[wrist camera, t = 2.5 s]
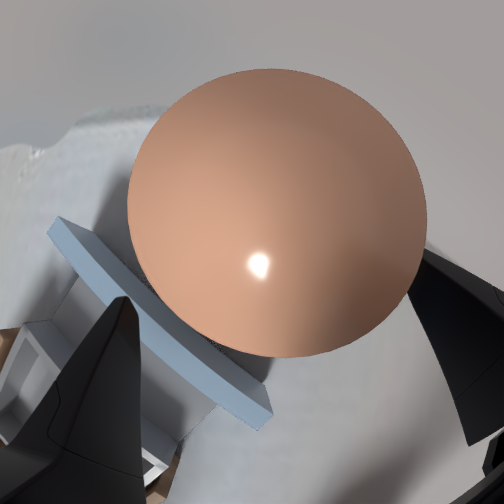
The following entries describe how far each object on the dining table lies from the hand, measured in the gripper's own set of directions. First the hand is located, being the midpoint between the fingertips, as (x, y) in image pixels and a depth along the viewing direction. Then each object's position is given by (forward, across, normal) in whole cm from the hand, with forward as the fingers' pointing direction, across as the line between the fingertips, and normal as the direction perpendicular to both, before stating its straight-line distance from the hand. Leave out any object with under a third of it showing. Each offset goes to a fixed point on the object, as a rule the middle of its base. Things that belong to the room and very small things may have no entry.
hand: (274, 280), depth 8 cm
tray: (+2, +12, +11) cm, 17 cm away
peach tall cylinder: (+7, 0, +5) cm, 9 cm away
